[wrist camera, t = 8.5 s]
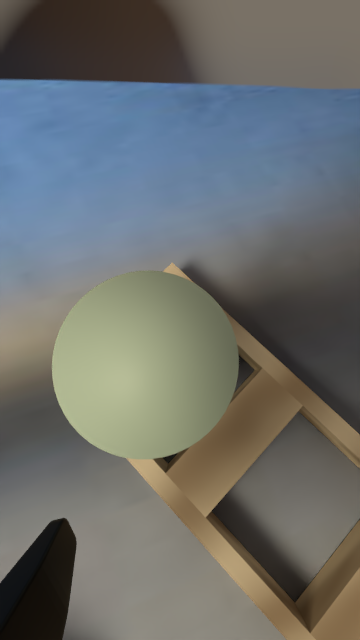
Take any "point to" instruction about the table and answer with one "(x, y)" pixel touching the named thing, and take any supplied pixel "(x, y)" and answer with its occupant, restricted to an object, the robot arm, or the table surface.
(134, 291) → the green tapered capsule
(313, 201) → the table surface
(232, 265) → the table surface
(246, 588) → the wooden ladder frame
